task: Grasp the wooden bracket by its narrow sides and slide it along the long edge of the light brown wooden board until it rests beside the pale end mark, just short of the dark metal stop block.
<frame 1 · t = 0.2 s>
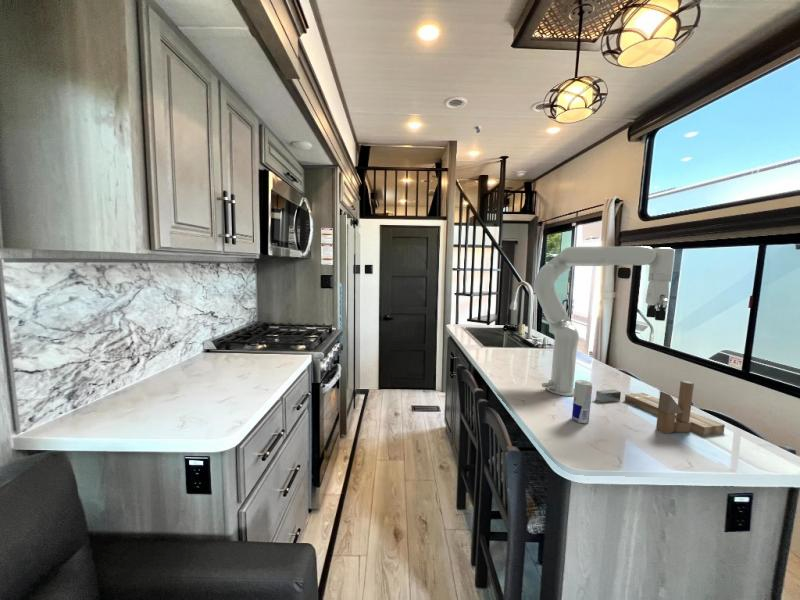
hand: (655, 318, 137), 37 cm above the table, tool pointing down, fingers open, 9 cm apart
light brown wooden board: (669, 415, 130), on the table
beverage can: (580, 421, 122), on the table
wooden bracket: (672, 431, 117), on the table
metal stop block: (607, 400, 143), on the table
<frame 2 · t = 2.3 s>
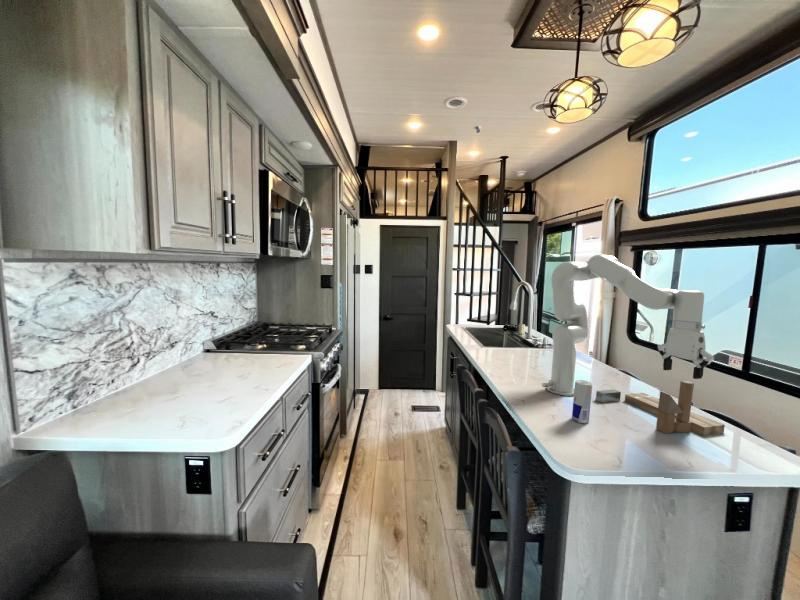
hand: (681, 374, 114), 21 cm above the table, tool pointing down, fingers open, 9 cm apart
nothing on the table moved.
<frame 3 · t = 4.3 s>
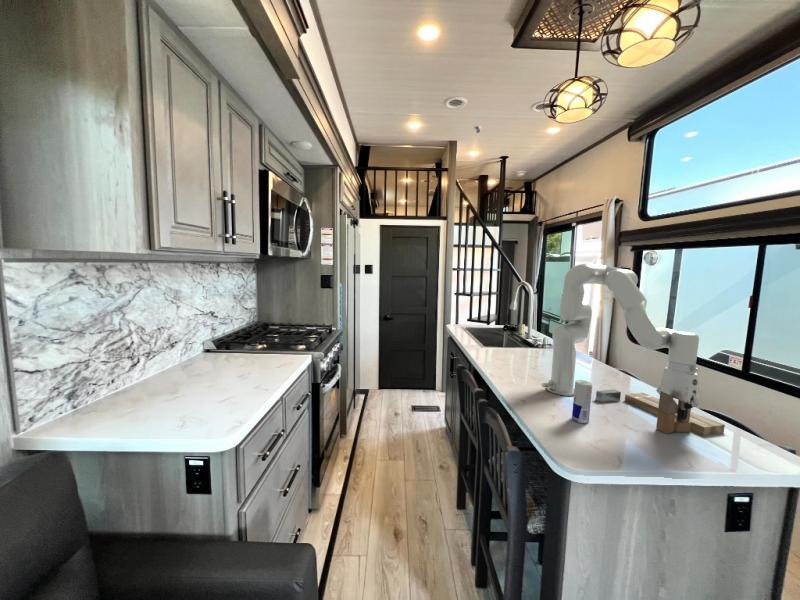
hand: (674, 416, 116), 5 cm above the table, tool pointing down, fingers closed on wooden bracket, 3 cm apart
wooden bracket: (673, 431, 117), on the table, touching gripper
everything else where it was.
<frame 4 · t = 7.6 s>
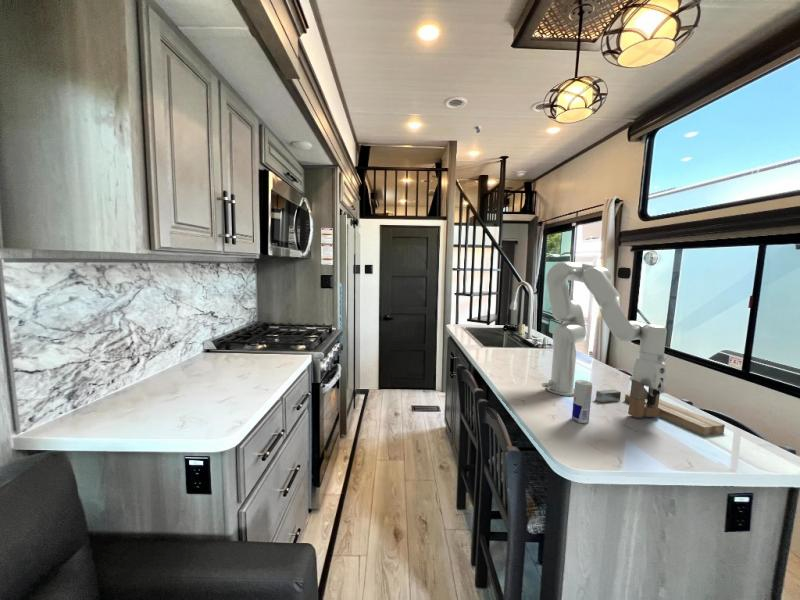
hand: (644, 402, 127), 6 cm above the table, tool pointing down, fingers closed on wooden bracket, 3 cm apart
wooden bracket: (643, 415, 127), on the table, touching gripper
everything else where it was.
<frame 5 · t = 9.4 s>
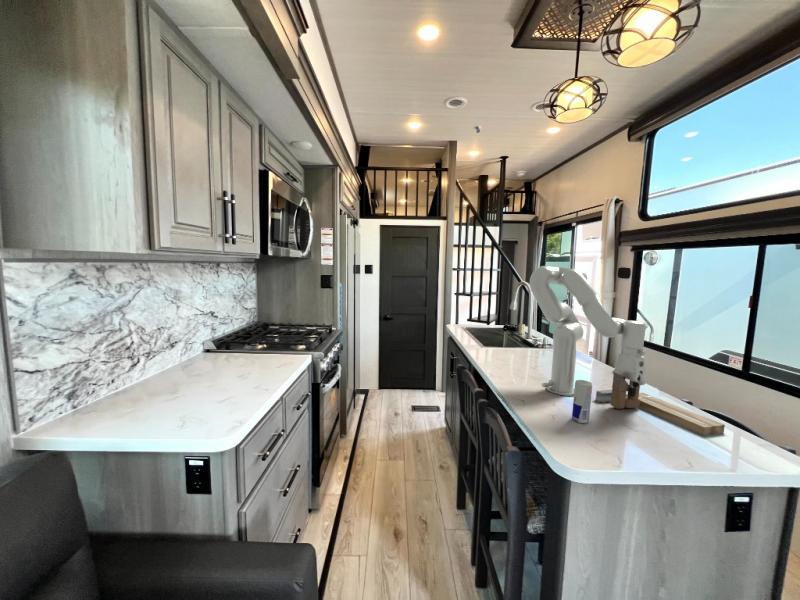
hand: (626, 394, 134), 6 cm above the table, tool pointing down, fingers closed on wooden bracket, 3 cm apart
wooden bracket: (624, 407, 135), point 1 cm above the table, touching gripper
everything else where it was.
when the fingers open (5 cm above the table, at t = 10.7 s): wooden bracket stays where it is, on the table.
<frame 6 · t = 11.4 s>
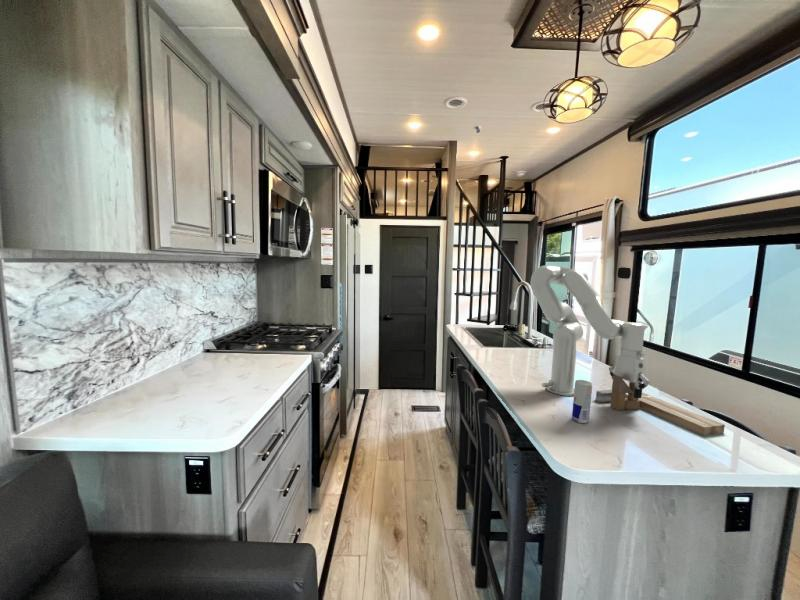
hand: (626, 393, 135), 6 cm above the table, tool pointing down, fingers open, 9 cm apart
wooden bracket: (624, 408, 135), on the table
everything else where it was.
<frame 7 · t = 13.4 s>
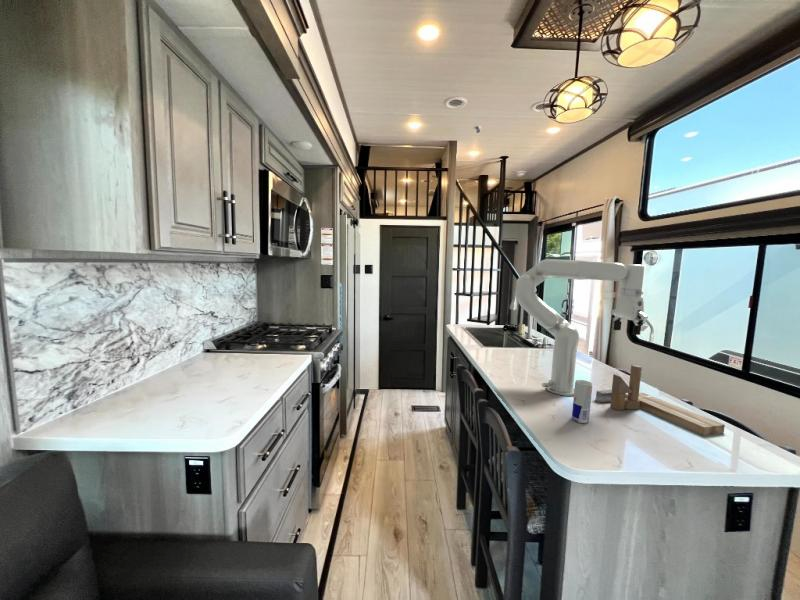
hand: (626, 332, 142), 30 cm above the table, tool pointing down, fingers open, 9 cm apart
nothing on the table moved.
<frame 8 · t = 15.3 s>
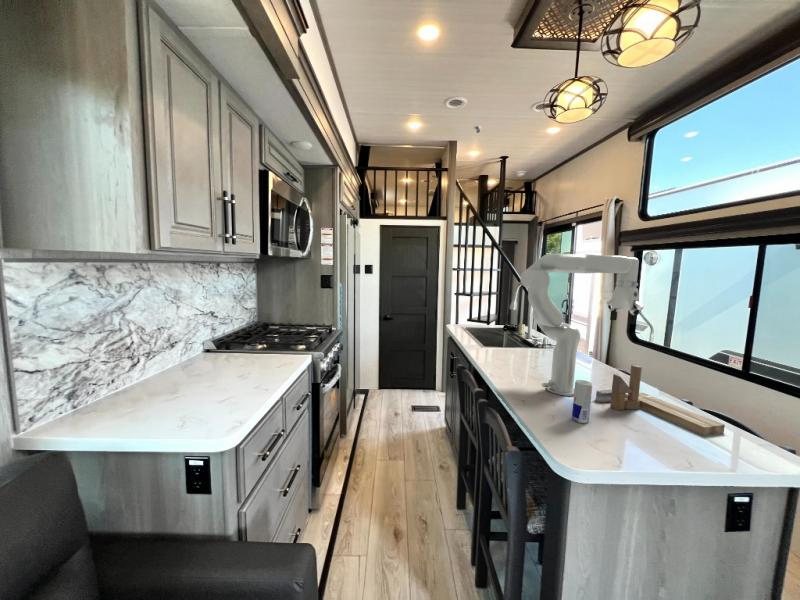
hand: (622, 321, 151), 33 cm above the table, tool pointing down, fingers open, 9 cm apart
nothing on the table moved.
at the end: wooden bracket inside the target area (0.0 cm from its centre), on the table; wooden bracket tilted 0°; the gripper is holding nothing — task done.
